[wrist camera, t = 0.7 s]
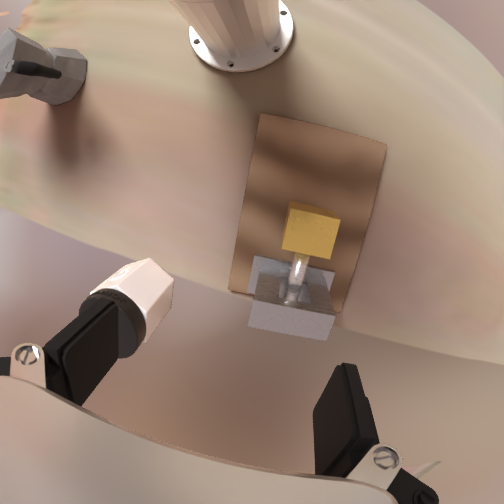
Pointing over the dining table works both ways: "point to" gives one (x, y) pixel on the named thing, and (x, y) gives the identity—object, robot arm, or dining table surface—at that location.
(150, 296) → the jar
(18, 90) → the coffeepot
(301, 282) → the yellow block headed rod
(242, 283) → the copper board
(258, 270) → the brushed steel socket base
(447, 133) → the dining table surface
